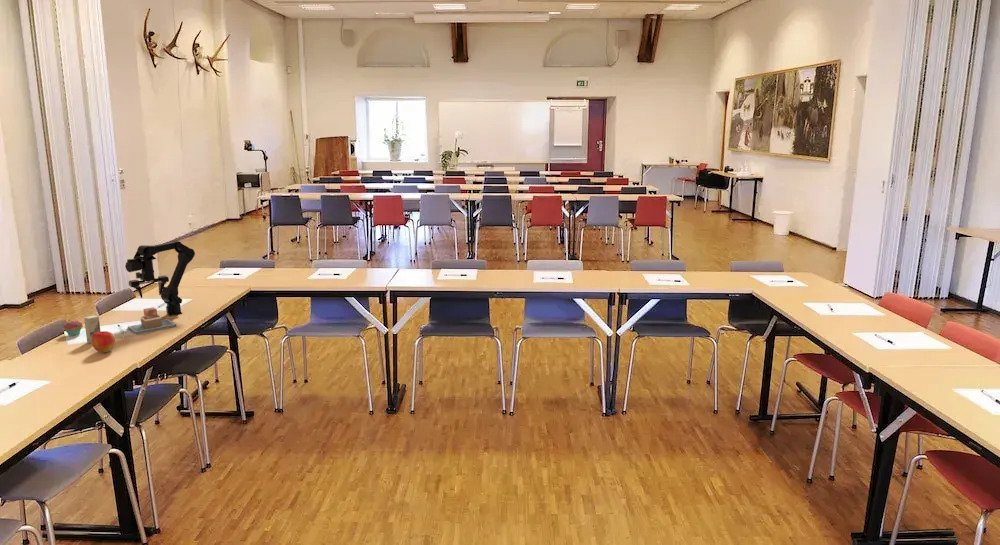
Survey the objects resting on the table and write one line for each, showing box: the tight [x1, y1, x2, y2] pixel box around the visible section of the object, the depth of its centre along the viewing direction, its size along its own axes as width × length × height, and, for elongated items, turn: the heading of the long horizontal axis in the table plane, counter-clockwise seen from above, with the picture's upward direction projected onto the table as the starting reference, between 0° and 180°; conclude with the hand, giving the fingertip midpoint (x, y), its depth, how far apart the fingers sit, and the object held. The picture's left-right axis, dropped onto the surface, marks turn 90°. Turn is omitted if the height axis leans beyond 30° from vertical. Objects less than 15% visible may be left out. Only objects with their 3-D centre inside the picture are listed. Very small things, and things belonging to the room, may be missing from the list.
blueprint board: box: [127, 313, 178, 335], centre depth 349 cm, size 20×14×6 cm
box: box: [83, 315, 102, 344], centre depth 325 cm, size 5×4×13 cm
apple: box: [92, 330, 116, 354], centre depth 311 cm, size 10×10×10 cm
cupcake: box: [62, 313, 84, 337], centre depth 336 cm, size 9×8×12 cm
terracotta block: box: [143, 306, 158, 319], centre depth 348 cm, size 5×5×5 cm
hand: (150, 296), depth 360 cm, fingers open, 9 cm apart
